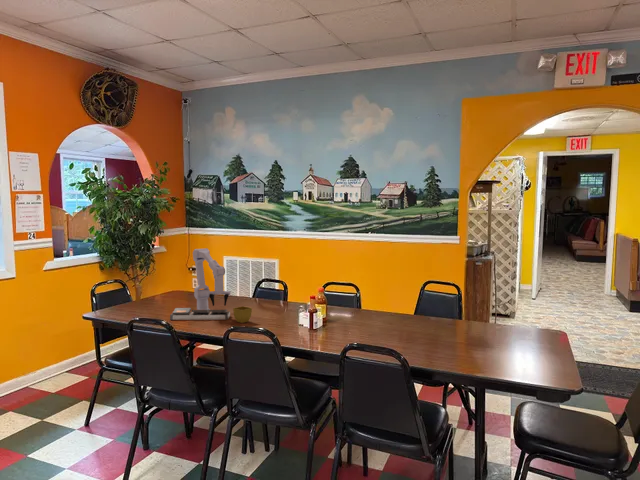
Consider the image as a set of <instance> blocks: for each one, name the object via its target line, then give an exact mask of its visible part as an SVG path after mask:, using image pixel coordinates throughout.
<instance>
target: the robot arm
mask: <svg viewBox="0 0 640 480" xmlns="http://www.w3.org/2000/svg"><path fill="white" fill-rule="evenodd" d="M192 259H193V261H194V263H195V272H196V281H197V282H196V283H197V286H195V288H194V290H193V291H194V292H193V296H194V298H195V299H196V310H209V311H210V310H211V309H210V308H209V300H208V299H210V300H211V304H212V307H214V306H215V295H219V296H221V295H224V296H223V298H224V303H223V305H224V306H226V305H227V302H228V298H229V296H230V295H231V291H227V290H225V289H224V276H225V275H226V269H225V267H224V266H222V265H220V264H219V263H218V261H217V260H216V259H213V257H212V256H211V254H210V250H209V248H208V247H207V248H195V249H194V250H193V251H192ZM204 261H206V262H207V264H208V267H209V268H210V269H211V271H212V275H213V279H214V290H211V291H210V288H209V286H208V285H206V279H205V271H204Z"/></svg>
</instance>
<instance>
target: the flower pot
mask: <svg viewBox="0 0 640 480" xmlns="http://www.w3.org/2000/svg"><path fill="white" fill-rule="evenodd" d="M232 310H233V316H234V317H233V318H234V319H235V320H236V322H237V323H241V324H244V323H248V322H249V321H250V319H251V317H252V311H253V308H252V307H249V306H245V305H243V306H237V307H233V308H232Z"/></svg>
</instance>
